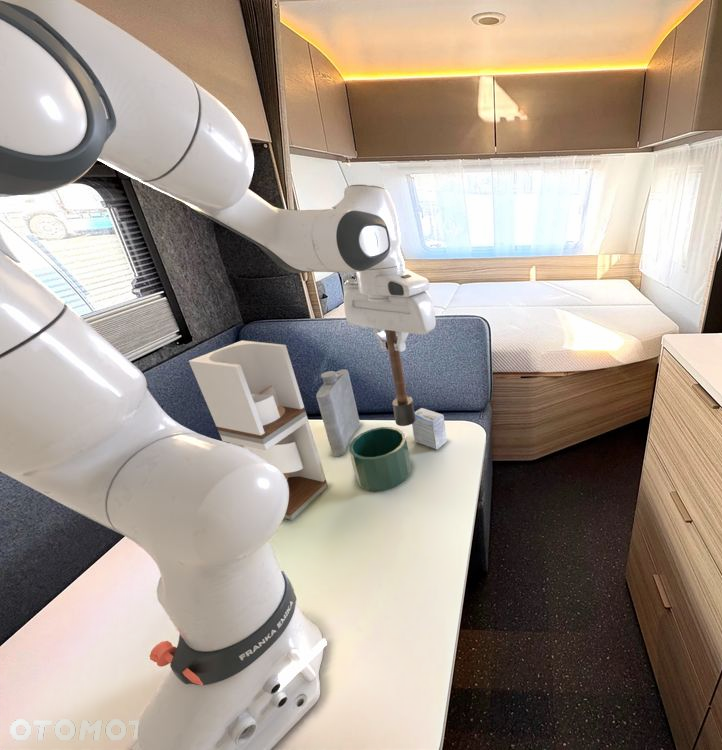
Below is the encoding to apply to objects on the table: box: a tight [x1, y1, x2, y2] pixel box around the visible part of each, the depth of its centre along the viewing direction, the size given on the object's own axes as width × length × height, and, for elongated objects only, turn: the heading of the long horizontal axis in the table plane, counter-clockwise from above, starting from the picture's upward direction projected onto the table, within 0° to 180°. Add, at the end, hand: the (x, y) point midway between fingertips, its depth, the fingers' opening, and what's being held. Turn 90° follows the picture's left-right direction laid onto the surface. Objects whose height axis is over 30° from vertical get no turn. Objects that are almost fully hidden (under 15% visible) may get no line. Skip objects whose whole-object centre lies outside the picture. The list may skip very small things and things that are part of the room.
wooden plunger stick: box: [384, 330, 416, 427], centre depth 81 cm, size 4×4×22 cm
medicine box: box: [411, 407, 448, 451], centre depth 102 cm, size 8×4×9 cm, turn 58°
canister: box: [348, 426, 412, 492], centre depth 91 cm, size 13×13×9 cm
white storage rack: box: [188, 340, 328, 521], centre depth 79 cm, size 11×11×35 cm
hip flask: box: [315, 369, 361, 457], centre depth 102 cm, size 16×4×20 cm, turn 1°
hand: (393, 349), depth 78 cm, fingers closed on wooden plunger stick, 2 cm apart
